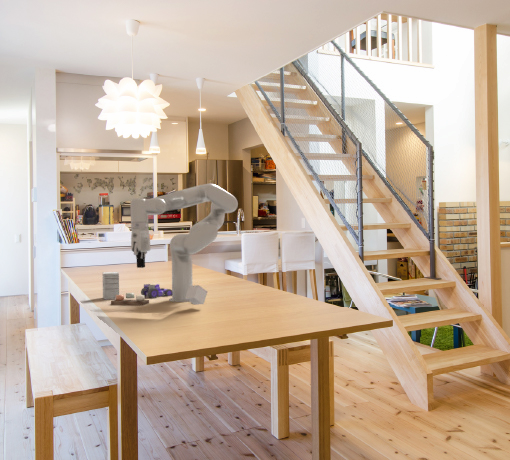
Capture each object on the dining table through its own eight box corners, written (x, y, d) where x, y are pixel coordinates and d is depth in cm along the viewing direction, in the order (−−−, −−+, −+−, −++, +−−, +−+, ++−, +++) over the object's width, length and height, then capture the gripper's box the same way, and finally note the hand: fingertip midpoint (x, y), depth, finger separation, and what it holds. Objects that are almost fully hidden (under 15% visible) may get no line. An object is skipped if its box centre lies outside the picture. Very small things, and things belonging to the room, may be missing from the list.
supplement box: (102, 298, 235) (102, 272, 236) (118, 297, 238) (117, 271, 238) (103, 299, 229) (103, 273, 229) (119, 298, 231) (119, 272, 231)
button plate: (149, 303, 215) (149, 299, 215) (143, 305, 209) (143, 301, 209) (117, 302, 219) (117, 299, 219) (110, 304, 213) (110, 301, 213)
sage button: (135, 297, 215) (135, 292, 215) (131, 298, 212) (131, 293, 212) (128, 297, 216) (128, 292, 216) (124, 298, 213) (124, 293, 213)
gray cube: (184, 298, 207) (189, 286, 210) (193, 304, 210) (198, 292, 213) (194, 297, 203) (198, 285, 206) (203, 303, 207) (207, 291, 209)
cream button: (145, 299, 214) (145, 295, 214) (142, 300, 211) (142, 296, 211) (138, 299, 215) (138, 295, 215) (134, 300, 212) (134, 296, 212)
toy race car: (176, 296, 241) (176, 283, 241) (150, 299, 232) (149, 285, 232) (167, 294, 249) (167, 281, 249) (140, 297, 239) (140, 284, 239)
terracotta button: (125, 299, 217) (125, 294, 217) (121, 300, 213) (121, 295, 213) (118, 299, 217) (118, 294, 217) (114, 300, 214) (114, 295, 214)
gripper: (139, 226, 205) (141, 269, 205) (154, 226, 220) (155, 266, 220) (123, 226, 207) (125, 269, 207) (139, 226, 221) (140, 266, 221)
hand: (141, 267), depth 213 cm, fingers closed
